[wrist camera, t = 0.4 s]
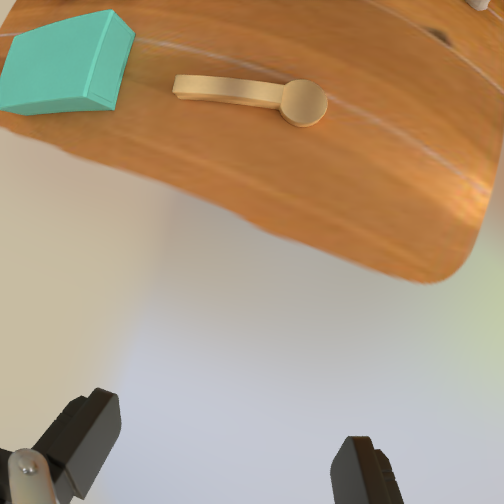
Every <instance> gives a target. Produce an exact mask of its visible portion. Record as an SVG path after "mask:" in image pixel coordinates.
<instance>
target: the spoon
mask: <svg viewBox="0 0 504 504" xmlns="http://www.w3.org/2000/svg"><path fill="white" fill-rule="evenodd" d="M172 92H173V93H174V94H175V95H176V96H177V97H178V98H179V99H189V100H203V101H214V102H224V103H233V104H242V105H249V106H257V107H263V108H270V109H276V110H279V112H280V114H281V116H282V117H283V118H284V119H285V120H286V121H287V122H288V123H290V124H292V125H294V126H298V127H308V126H312V125H314V124H316V123H317V122H318V121H319V120H320V119H321V118H322V116H323V115H324V114H325V112H326V109H327V97H326V94H325V92H324V91H323V89H322V88H321V87H320V86H319V85H317V84H316V83H314V82H312V81H310V80H306V79H297V80H293V81H290V82H288V83H287V84H286V85H285V86H284V85H281V84H274V83H268V82H261V81H253V80H245V79H236V78H226V77H214V76H199V75H176V78H175V82H174V86H173V90H172Z"/></svg>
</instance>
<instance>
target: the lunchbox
mask: <svg viewBox="0 0 504 504" xmlns="http://www.w3.org/2000/svg"><path fill="white" fill-rule="evenodd" d="M134 37H135V33H134V32H133V31H132V30H131V29H130V27H129V26H128V25H127V24H126V23H125V22H124V21H123V20H122V19H121V18H120V17H119V16H118V15H117V14H116V13H115V12H114V13H113V16H112V18H111V21H110V24H109V26H108V29H107V32H106V34H105V37H104V40H103V43H102V46H101V49H100V52H99V55H98V58H97V61H96V64H95V68H94V71H93V75H92V78H91V82H90V86H89V89H88V93H87V97H86V98H74V99H63V100H54V101H46V102H38V103H31V104H25V105H19V106H13V107H8V108H3V109H0V110H2V111H7V112H12V113H17V114H21V115H26V116H28V115H36V114H46V113H58V112H73V111H95V110H114V109H115V105H116V101H117V96H118V92H119V88H120V84H121V81H122V77H123V73H124V70H125V66H126V63H127V59H128V56H129V53H130V49H131V46H132V43H133V40H134Z"/></svg>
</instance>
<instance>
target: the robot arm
mask: <svg viewBox="0 0 504 504" xmlns="http://www.w3.org/2000/svg"><path fill="white" fill-rule="evenodd" d="M120 430H121V416H120V408H119V398H118V396H117V394H115V393H112V392H109V391H106V390H104V389H101V388H96V389H94V391H93V392H92V393H91V394H90V396H89V397H88V398H86V397H84V396H80V397H78V398H76V399H74V400H72V401H70V402H69V404H68V405H67V406H66V407H65V408H64V410H63V412H62V413H60V415H59V416H58V417H57V419H56V420H54V422H53V423H52V424H51V425H50V427H49V428H48V429H47V430H46V432H45V433H44V434H43V435H42V437H41V438H40V439H39V440H38V442H37V443H36V444H35V445H34V446H33V447H32V448H31V449H27V448H26V449H25V448H24V449H19V450H16V451H15V452H11V451H7V450H4V449H1V448H0V504H70V501H71V500H72V498H73V496H76V497H78V498H80V499H82V500H84V498H85V497H86V495H87V493H88V491H89V489H90V487H91V486H92V484H93V482H94V480H95V478H96V476H97V475H98V473H99V471H100V469H101V467H102V465H103V464H104V462H105V460H106V458H107V456H108V454H109V452H110V451H111V449H112V447H113V446H114V444H115V442H116V440H117V438H118V436H119V434H120ZM330 476H331V482H332V488H333V494H334V501H335V504H404V502H403V499H402V496H401V493H400V490H399V487H398V484H397V482H396V481H395V476H394V473H393V472H392V467H391V465H390V462H389V459H388V458H387V457H386V456H385V454H383V452H382V451H381V450H380V449H376V450H374V447H373V444H372V441H371V439H370V437H368V436H348V437H347V438H346V439H345V441H344V443H343V444H342V446H341V448H340V450H339V451H338V453H337V455H336V456H335V458H334V460H333V462H332V465H331V470H330Z"/></svg>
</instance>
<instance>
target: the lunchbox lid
mask: <svg viewBox="0 0 504 504" xmlns="http://www.w3.org/2000/svg"><path fill="white" fill-rule="evenodd" d="M113 13H114V11H113V10H112V9H109V10H104V11H99V12H94V13H89V14H85V15H81V16H77V17H73V18H69V19H65V20H62V21H58V22H55V23H52V24H48V25H45V26H42V27H39V28H36V29H33V30H30V31H28V32H25V33H22V34H20V35H17V36H15V37H14V40H13V42H12V45H11V47H10V50H9V53H8V55H7V58H6V61H5V64H4V67H3V70H2V73H1V77H0V109H3V108H8V107H13V106H19V105H25V104H31V103H38V102H46V101H54V100H63V99H74V98H86V97H87V93H88V89H89V86H90V82H91V78H92V75H93V71H94V68H95V64H96V61H97V58H98V55H99V52H100V49H101V46H102V43H103V40H104V37H105V34H106V32H107V29H108V26H109V24H110V21H111V18H112V16H113Z"/></svg>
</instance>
